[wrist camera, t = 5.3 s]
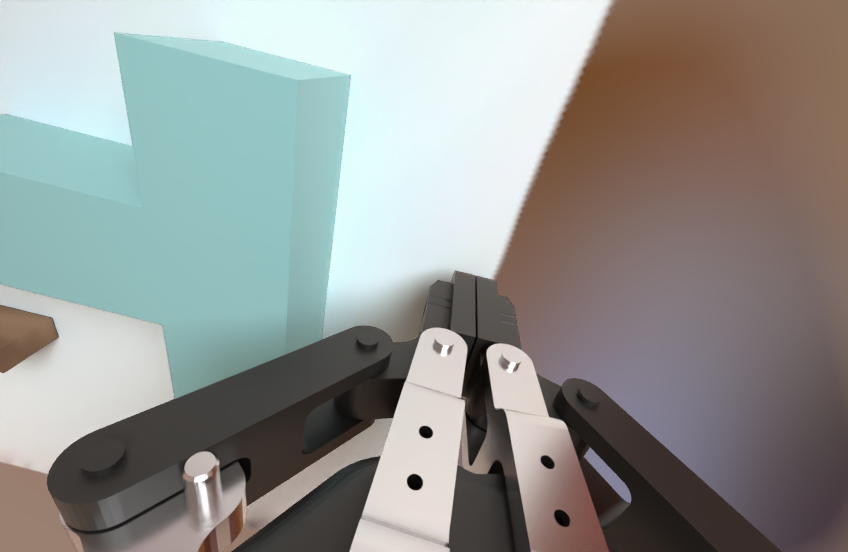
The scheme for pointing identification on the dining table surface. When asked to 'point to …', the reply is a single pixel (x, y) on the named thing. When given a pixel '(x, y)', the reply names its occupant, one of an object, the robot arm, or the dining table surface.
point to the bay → (22, 335)
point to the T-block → (187, 203)
